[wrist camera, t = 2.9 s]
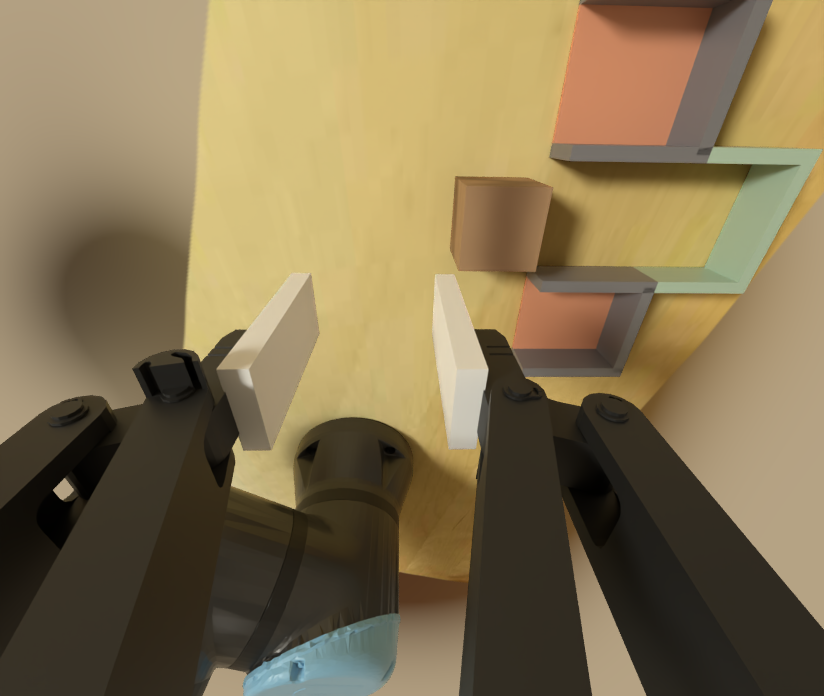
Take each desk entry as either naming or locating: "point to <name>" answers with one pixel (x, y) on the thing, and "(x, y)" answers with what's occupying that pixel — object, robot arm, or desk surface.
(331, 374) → the desk surface
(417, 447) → the desk surface
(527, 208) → the walnut block
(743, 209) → the box
